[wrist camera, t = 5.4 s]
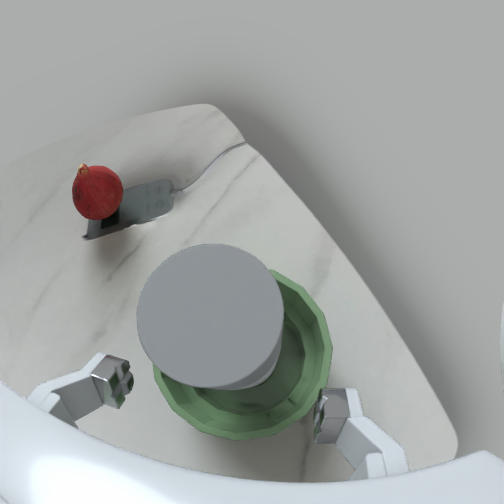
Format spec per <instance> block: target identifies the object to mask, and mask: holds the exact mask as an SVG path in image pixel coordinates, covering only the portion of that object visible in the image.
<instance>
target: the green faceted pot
mask: <svg viewBox="0 0 504 504" xmlns="http://www.w3.org/2000/svg"><path fill="white" fill-rule="evenodd" d="M268 270H269V271H270V272H271V274H272V275H273V277H274V278H275V280H276V282H277V284H278V286H279V289H280V292H281V295H282V299H283V306H284V321H283V331H282V340H281V350H280V354H279V357H278V360H277V363H276V365H275V368H274V371H273V373H272V374H271V376H270V377H269V378H268V379H267V380H266V381H265V382H264V383H262V384H260V385H258V386H255V387H251V388H245V389H239V390H220V389H207V388H197V387H192V386H188V385H185V384H182V383H179V382H177V381H175V380H173V379H171V378H170V377H168V376H167V375H165V374H164V373H162V372H161V371H160V370H159V369H158V368H157V367H156V366H155V365H154V364H153V371H154V378H155V381H156V383H157V385H158V386H159V388H160V390H161V392H162V394H163V395H164V397H165V399H166V401H167V402H168V404H169V406H170V407H171V409H172V410H173V411H174V412H176V413H177V414H178V415H179V416H181V417H182V418H183V419H184V420H186V421H187V422H188V423H190V424H191V425H192V426H194V427H195V428H197V429H198V430H199V431H201V432H204V433H208V434H211V435H215V436H219V437H223V438H227V439H232V440H238V441H239V440H246V439H253V438H259V437H265V436H271V435H275V434H277V433H279V432H280V431H282V430H283V429H285V428H287V427H288V426H290V425H291V424H293V423H294V422H296V421H297V420H299V419H300V418H302V417H303V416H305V415H306V414H307V413H308V412H309V410H310V409H311V407H312V406H313V404H314V403H315V401H316V400H317V398H318V393H319V390H320V388H325V386H326V384H327V382H328V376H329V370H330V364H331V357H332V351H333V346H332V342H331V339H330V335H329V331H328V327H327V323H326V320H325V316H324V314H323V312H322V311H321V310H320V308H319V307H318V306H317V304H316V303H315V302H314V301H313V299H312V298H311V297H310V295H309V294H308V293H307V292H306V290H305V289H304V288H303V287H302V286H300V285H298V284H297V283H295V282H293V281H292V280H290V279H288V278H286V277H285V276H283V275H281V274H280V273H278V272H276V271H274V270H270V269H268Z"/></svg>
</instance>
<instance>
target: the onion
mask: <svg viewBox="0 0 504 504" xmlns="http://www.w3.org/2000/svg"><path fill="white" fill-rule="evenodd" d="M72 195H73V202H74V205H75V207H76V209H77V210H78V211H79V213H80V214H81V215H82V216H84V217H85V218H87V219H91V220H101V219H104V218H107V217H109V216H110V215H112V214H113V213H114V212H115V211H116V210H117V208H118V206H119V204H120V203H121V201H122V196H123V187H122V183H121V181H120V179H119V177H118V176H117V175H116V173H114V172H113V171H112V170H110V169H109V168H107V167H104V166H90V167H87V165H86V164H82V165H80V166H79V169H78V173H77V176H76V178H75V180H74V182H73V187H72Z"/></svg>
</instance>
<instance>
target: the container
mask: <svg viewBox="0 0 504 504" xmlns="http://www.w3.org/2000/svg"><path fill="white" fill-rule="evenodd" d="M283 321H284V306H283V299H282V295H281V292H280V289H279V286H278V284H277V282H276V280H275V278H274V277H273V275H272V274H271V272H270V271H269V270H268V268H267V267H266V266H265V265H264V264H263V263H262V262H261V261H260V260H258V259H257V258H256V257H254V256H253V255H251V254H250V253H248V252H246V251H244V250H242V249H239V248H236V247H233V246H229V245H224V244H201V245H196V246H192V247H189V248H186V249H184V250H181V251H179V252H177V253H175V254H173V255H172V256H170V257H169V258H167V259H166V260H165V261H164V262H162V263H161V264H160V265H159V266H158V267H157V268H156V269H155V271H154V272H153V273H152V274H151V276H150V277H149V278H148V280H147V282H146V283H145V285H144V287H143V290H142V292H141V295H140V298H139V302H138V306H137V330H138V335H139V339H140V342H141V344H142V347H143V349H144V351H145V353H146V354H147V356H148V357H149V359H150V360H151V361H152V363H153V364H154V365H155V366H156V367H157V368H158V369H159V370H160V371H161V372H162V373H164V374H165V375H167V376H168V377H170V378H171V379H173V380H175V381H177V382H179V383H182V384H185V385H188V386H192V387H197V388H207V389H220V390H239V389H245V388H251V387H255V386H258V385H260V384H262V383H264V382H265V381H266V380H267V379H268V378H269V377H270V376H271V374H272V373H273V371H274V368H275V365H276V363H277V360H278V357H279V354H280V350H281V340H282V331H283Z"/></svg>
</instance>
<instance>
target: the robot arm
mask: <svg viewBox="0 0 504 504" xmlns="http://www.w3.org/2000/svg"><path fill="white" fill-rule="evenodd" d="M129 368H130V365H129V361H127V360H124V359H121V358H118V357H115V356H111V355H108V354H105V353H102V352H99V353H97V354H96V355H95V356H94V357H93V358H92V359H91V360H90V361H89V363H88V364H87V365H86V366H85V367H84V368H83V369H82V370H81V371H76V372H73V373H70V374H67V375H64V376H61V377H59V378H56V379H53V380H50V381H47V382H44V383H41V384H39V385H38V386H37V387H36V388H35V389H34V390H33V391H32V392H31V394H30V395H29V396H28V397H27V398H24V397H23V396H21V395H20V394H19V393H17V392H16V391H14V390H13V389H12V388H10V387H9V386H8V385H6V384H5V383H4V382H2V381H1V380H0V504H504V461H503V460H501V459H500V458H498V457H497V456H495V455H493V454H491V453H489V452H487V451H485V450H480V451H476V452H474V453H471V454H468V455H466V456H463V457H460V458H457V459H454V460H451V461H448V462H445V463H441V464H438V465H434V466H431V467H427V468H423V469H419V470H415V471H410V469H409V465H408V461H407V458H406V454H405V450H404V448H403V447H402V446H401V445H400V444H399V443H397V442H396V441H395V440H394V439H393V438H391V437H390V436H389V435H388V434H387V433H386V432H384V431H383V430H382V429H381V428H380V427H379V426H377V425H376V424H375V423H374V422H373V421H372V420H371V419H369V418H368V417H364V414H363V410H362V405H361V401H360V397H359V393H358V389H357V388H345V389H344V388H320V390H319V393H318V401H316V404H315V408H314V417H313V419H314V424H315V425H316V426H315V429H314V443H322V444H335V445H336V447H337V448H338V449H339V451H340V452H341V453H342V454H343V456H344V457H345V458H346V459H347V461H348V462H349V463H350V464H351V466H352V467H353V468H354V469H355V472H354V473H353V474H352V476H351V477H350V478H349V479H348V481H339V482H316V483H297V482H273V481H261V480H251V479H242V478H235V477H228V476H222V475H216V474H211V473H206V472H201V471H196V470H192V469H187V468H183V467H179V466H175V465H172V464H168V463H164V462H161V461H158V460H154V459H151V458H148V457H145V456H142V455H139V454H136V453H133V452H131V451H128V450H125V449H123V448H120V447H117V446H115V445H112V444H110V443H108V442H105V441H103V440H101V439H98V438H96V437H94V436H92V435H90V434H87V433H85V432H83V431H81V430H79V428H78V426H77V425H76V423H75V422H74V421H76V420H78V419H80V418H82V417H83V416H85V415H87V414H89V413H90V412H92V411H94V410H96V409H97V408H99V407H101V406H103V405H104V404H105V405H108V406H111V407H114V408H117V409H120V407H121V405H122V404H123V402H124V401H125V396H124V395H127V394H129V393H130V391H131V390H132V387H133V384H134V379H133V375H132V373H131V372H130V371H129Z"/></svg>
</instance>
